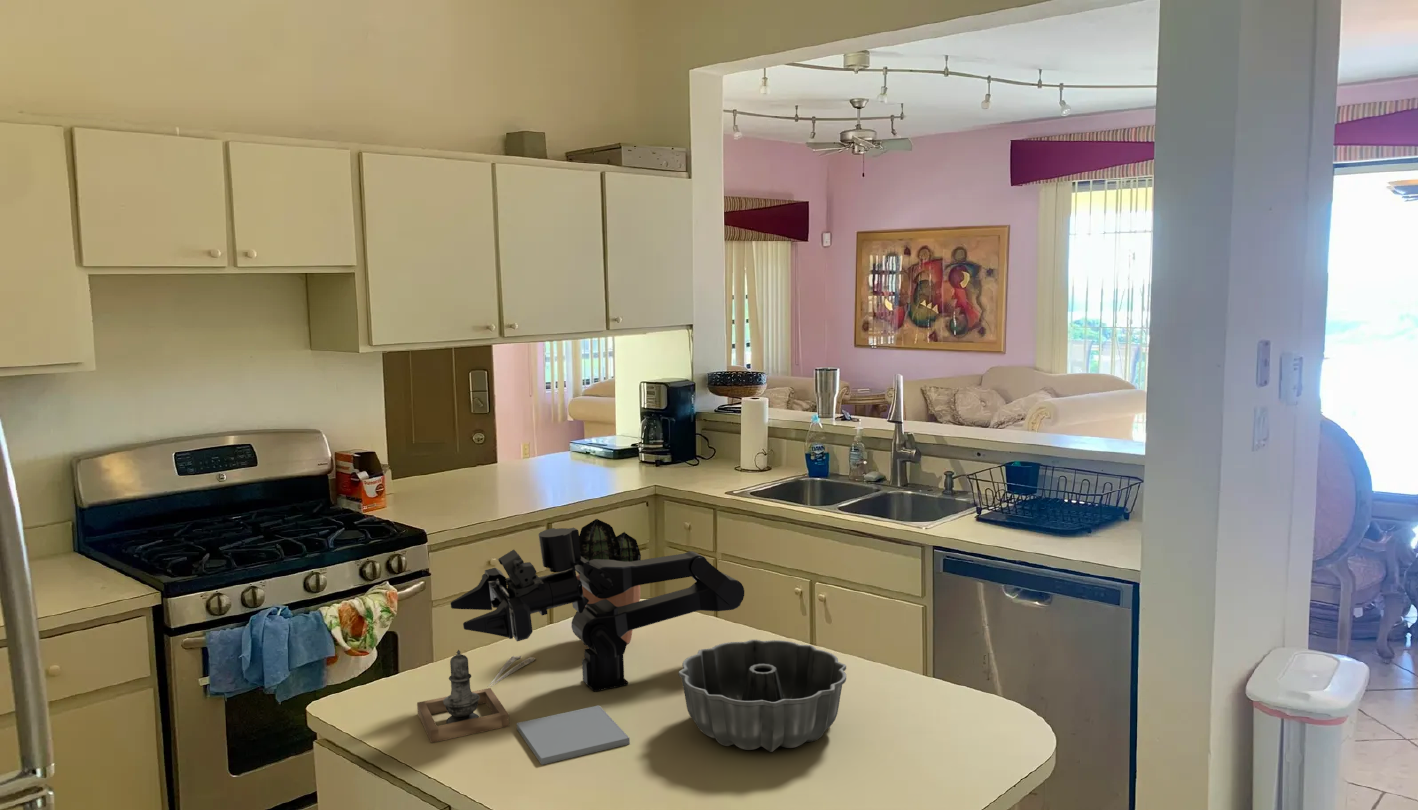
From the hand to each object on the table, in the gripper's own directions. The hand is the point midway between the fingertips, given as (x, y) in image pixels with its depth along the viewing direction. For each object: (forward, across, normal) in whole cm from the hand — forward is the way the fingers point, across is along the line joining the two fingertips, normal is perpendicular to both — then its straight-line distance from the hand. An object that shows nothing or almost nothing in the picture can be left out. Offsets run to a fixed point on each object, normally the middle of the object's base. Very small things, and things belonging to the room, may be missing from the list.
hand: (457, 615), depth 166 cm
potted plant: (-32, -18, +22) cm, 43 cm away
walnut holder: (+2, +5, +16) cm, 17 cm away
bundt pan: (-39, +32, +18) cm, 54 cm away
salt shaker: (+2, +5, +17) cm, 17 cm away
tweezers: (-9, -11, +20) cm, 24 cm away
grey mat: (-12, +20, +16) cm, 28 cm away
